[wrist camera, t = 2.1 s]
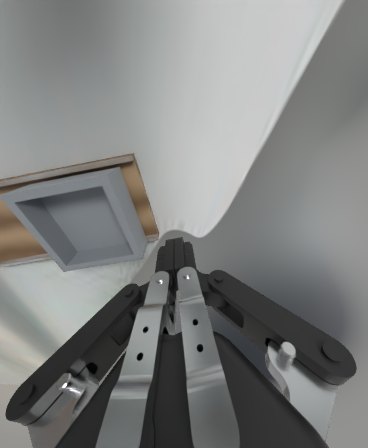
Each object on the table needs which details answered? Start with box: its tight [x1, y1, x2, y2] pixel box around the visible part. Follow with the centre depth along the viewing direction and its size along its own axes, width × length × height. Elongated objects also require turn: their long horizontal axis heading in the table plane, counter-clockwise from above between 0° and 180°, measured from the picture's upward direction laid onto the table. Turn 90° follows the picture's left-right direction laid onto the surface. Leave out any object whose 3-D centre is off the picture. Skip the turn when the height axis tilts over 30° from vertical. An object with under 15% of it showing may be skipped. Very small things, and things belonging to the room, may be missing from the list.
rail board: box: [0, 153, 159, 267], centre depth 24 cm, size 14×31×3 cm, turn 100°
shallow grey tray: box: [0, 167, 147, 272], centre depth 21 cm, size 12×12×6 cm
